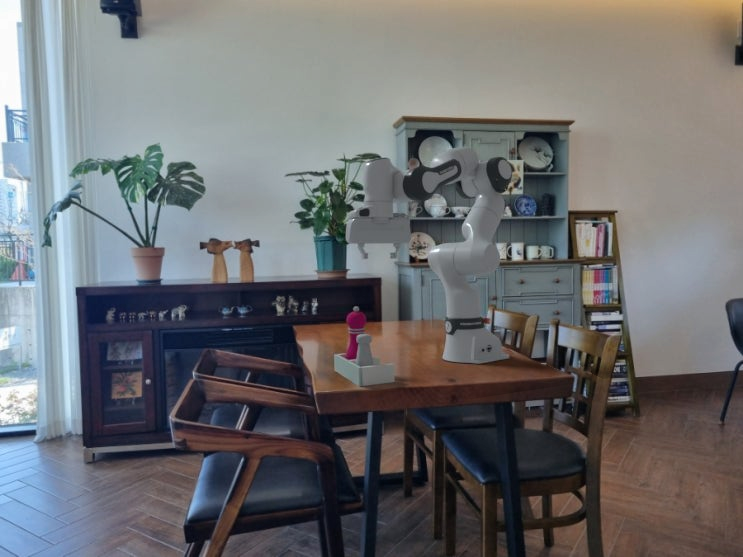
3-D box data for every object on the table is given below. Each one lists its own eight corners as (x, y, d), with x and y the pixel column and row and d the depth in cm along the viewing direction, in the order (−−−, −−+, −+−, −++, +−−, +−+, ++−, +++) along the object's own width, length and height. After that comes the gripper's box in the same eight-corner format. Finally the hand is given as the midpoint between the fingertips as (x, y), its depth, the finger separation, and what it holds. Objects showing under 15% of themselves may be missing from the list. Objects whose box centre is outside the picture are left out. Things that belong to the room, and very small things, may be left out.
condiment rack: (366, 367, 157) (365, 351, 157) (394, 382, 138) (394, 364, 138) (334, 370, 153) (334, 354, 153) (359, 386, 134) (358, 368, 134)
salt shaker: (375, 377, 144) (374, 332, 143) (375, 382, 138) (374, 335, 137) (355, 377, 144) (354, 333, 143) (354, 382, 138) (353, 336, 137)
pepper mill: (341, 373, 149) (339, 307, 148) (353, 368, 155) (351, 304, 154) (362, 376, 146) (360, 307, 145) (373, 371, 152) (372, 305, 151)
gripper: (405, 214, 156) (405, 258, 157) (343, 212, 148) (344, 259, 149) (414, 212, 150) (415, 258, 151) (350, 210, 142) (351, 259, 143)
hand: (379, 258), depth 150 cm, fingers open, 8 cm apart
